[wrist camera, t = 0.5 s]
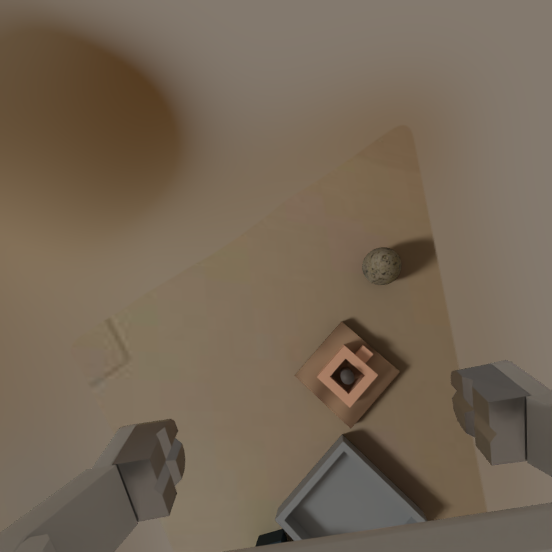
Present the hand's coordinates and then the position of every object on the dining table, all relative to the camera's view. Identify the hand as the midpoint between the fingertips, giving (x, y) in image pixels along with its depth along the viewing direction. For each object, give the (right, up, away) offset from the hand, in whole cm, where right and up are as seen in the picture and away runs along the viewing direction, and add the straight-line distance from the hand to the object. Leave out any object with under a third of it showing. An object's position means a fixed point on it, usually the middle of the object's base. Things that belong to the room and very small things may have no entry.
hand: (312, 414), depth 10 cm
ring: (+10, -12, +45) cm, 47 cm away
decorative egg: (+17, +5, +49) cm, 52 cm away
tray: (+10, -33, +43) cm, 56 cm away
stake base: (+11, -12, +47) cm, 49 cm away
